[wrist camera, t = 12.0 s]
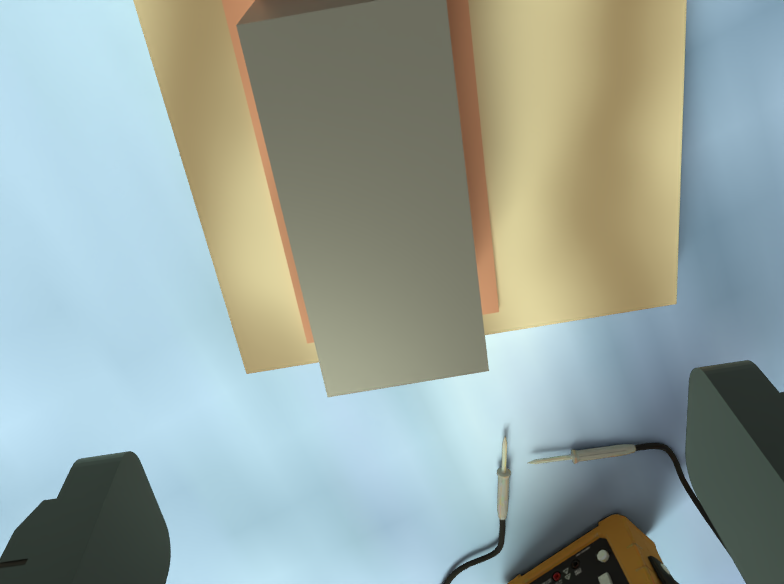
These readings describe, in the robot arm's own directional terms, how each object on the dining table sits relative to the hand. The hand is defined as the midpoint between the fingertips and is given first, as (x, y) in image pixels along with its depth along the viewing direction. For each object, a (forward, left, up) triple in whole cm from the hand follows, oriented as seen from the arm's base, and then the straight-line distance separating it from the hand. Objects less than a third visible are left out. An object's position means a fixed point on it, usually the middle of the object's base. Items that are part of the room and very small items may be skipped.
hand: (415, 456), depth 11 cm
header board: (-2, 0, -16) cm, 16 cm away
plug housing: (0, 0, -15) cm, 15 cm away
